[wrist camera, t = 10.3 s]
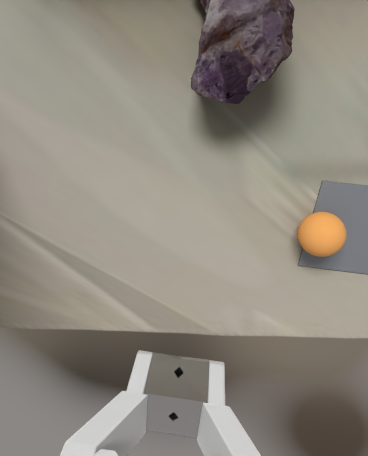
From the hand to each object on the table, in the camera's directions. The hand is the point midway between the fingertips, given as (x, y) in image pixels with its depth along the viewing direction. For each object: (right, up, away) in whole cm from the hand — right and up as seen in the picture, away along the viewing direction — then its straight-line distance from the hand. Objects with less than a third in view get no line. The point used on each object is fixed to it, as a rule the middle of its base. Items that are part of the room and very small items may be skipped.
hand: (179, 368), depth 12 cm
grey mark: (+22, +4, +30) cm, 38 cm away
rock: (+6, +25, +22) cm, 34 cm away
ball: (+17, +4, +28) cm, 33 cm away
